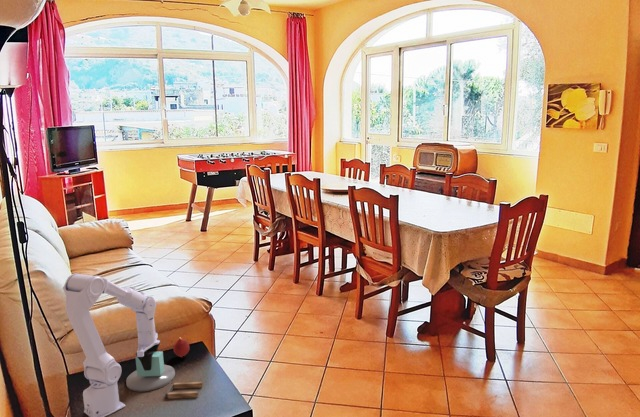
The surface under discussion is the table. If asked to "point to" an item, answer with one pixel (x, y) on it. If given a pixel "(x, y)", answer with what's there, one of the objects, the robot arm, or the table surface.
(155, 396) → the table surface
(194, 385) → the brown wooden frame
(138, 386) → the plate
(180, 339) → the onion
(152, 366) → the tall mint rectangular block
